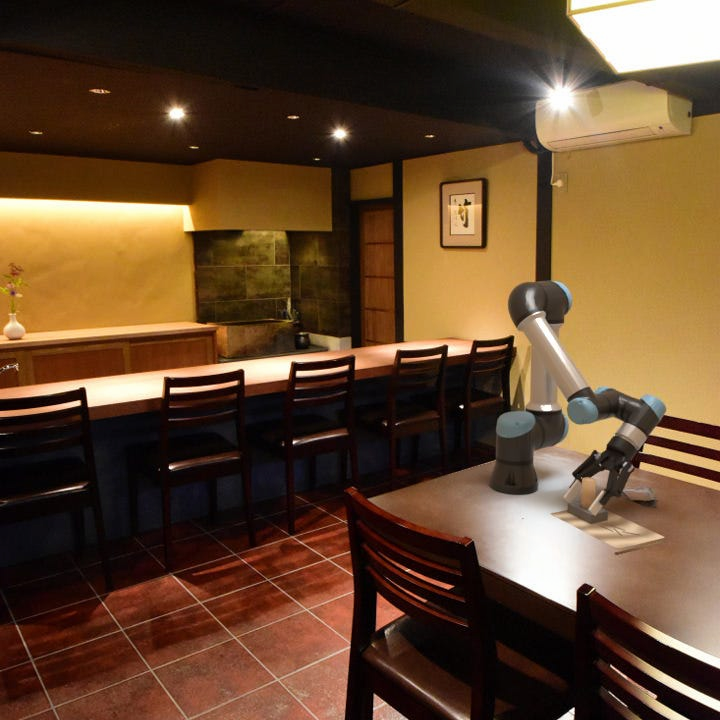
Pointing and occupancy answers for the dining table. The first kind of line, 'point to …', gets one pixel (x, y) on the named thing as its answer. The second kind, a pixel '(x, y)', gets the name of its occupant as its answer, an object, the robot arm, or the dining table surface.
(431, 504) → the dining table surface
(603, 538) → the birch board
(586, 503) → the sanding block
